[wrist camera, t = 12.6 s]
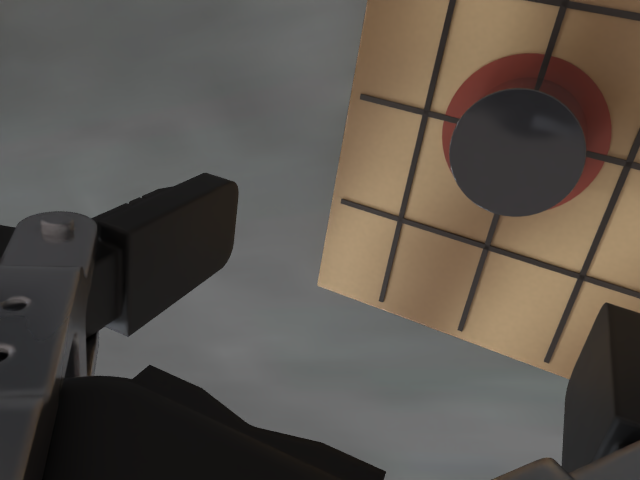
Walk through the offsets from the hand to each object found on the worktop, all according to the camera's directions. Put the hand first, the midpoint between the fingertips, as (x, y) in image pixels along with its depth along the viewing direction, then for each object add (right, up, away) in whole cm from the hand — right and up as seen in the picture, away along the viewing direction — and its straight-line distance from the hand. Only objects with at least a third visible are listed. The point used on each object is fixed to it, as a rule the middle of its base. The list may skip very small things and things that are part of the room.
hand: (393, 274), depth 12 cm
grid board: (+7, +5, +12) cm, 15 cm away
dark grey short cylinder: (+7, +5, +11) cm, 13 cm away
